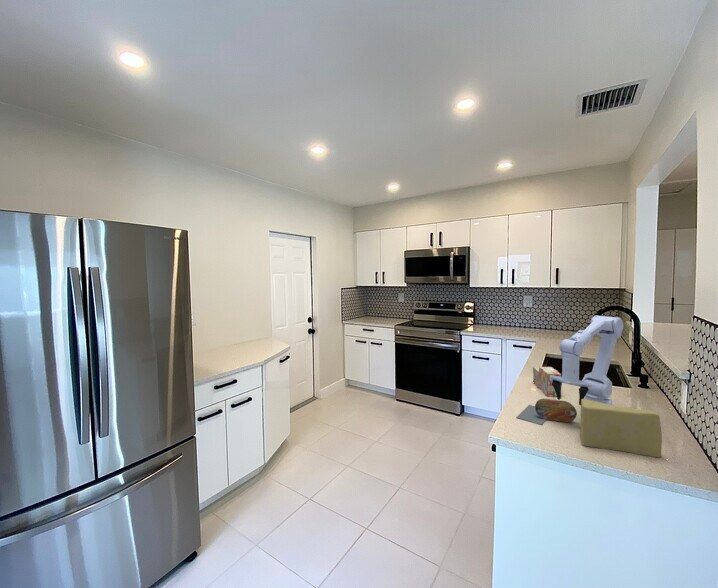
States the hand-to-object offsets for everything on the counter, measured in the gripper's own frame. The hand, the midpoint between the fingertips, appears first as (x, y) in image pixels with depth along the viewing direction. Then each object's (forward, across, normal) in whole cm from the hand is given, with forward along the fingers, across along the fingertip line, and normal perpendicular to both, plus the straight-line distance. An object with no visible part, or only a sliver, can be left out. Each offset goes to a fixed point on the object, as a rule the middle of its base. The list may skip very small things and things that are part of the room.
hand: (569, 401), depth 129 cm
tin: (+10, -6, +1) cm, 11 cm away
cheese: (+10, +17, -7) cm, 21 cm away
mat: (+10, -13, 0) cm, 16 cm away
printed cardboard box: (+10, -21, +36) cm, 43 cm away
